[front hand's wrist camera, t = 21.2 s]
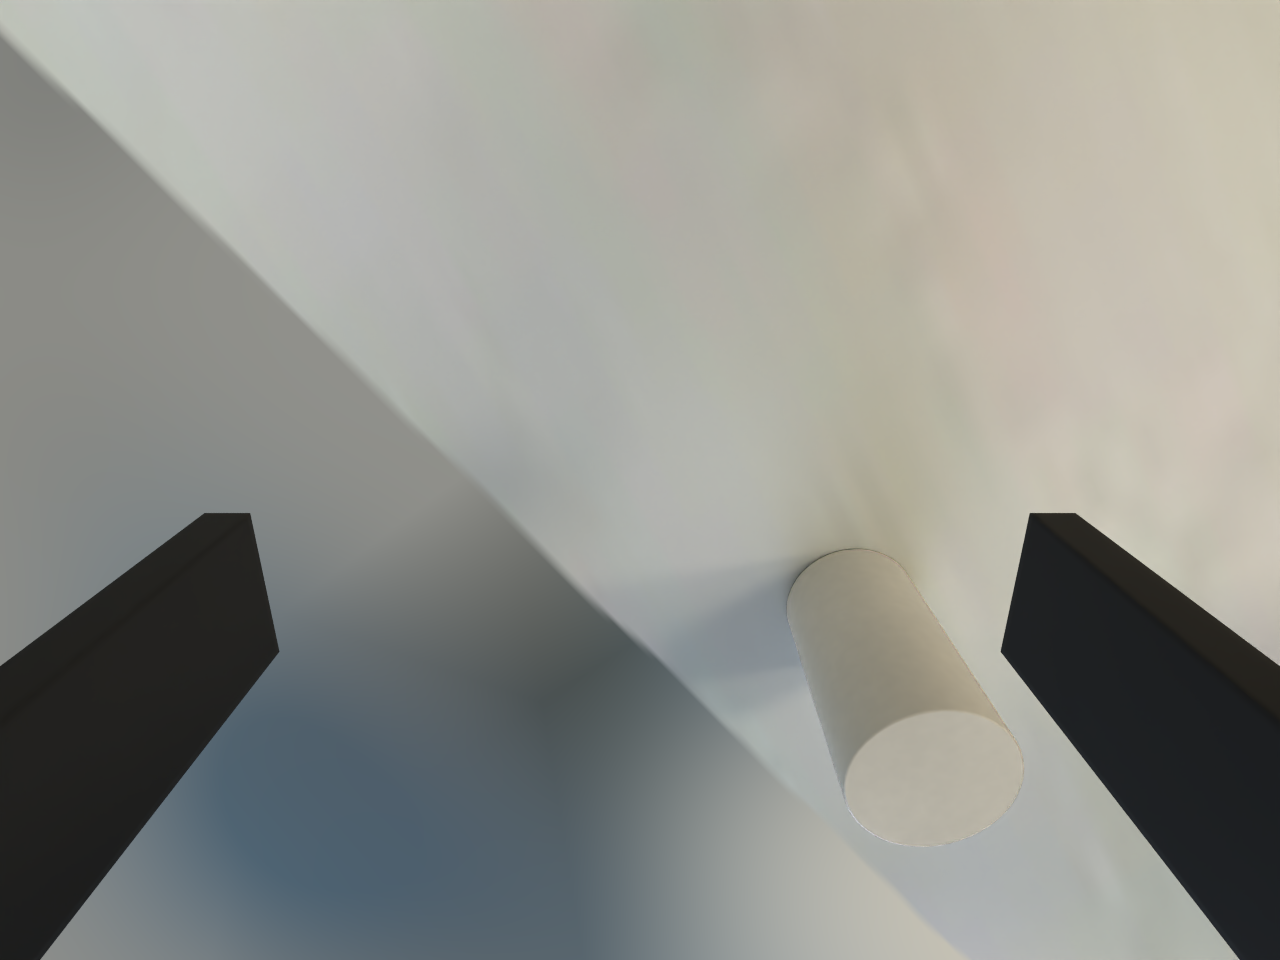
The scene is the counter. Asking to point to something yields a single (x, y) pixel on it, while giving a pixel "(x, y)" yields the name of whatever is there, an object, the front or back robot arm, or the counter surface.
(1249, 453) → the counter surface
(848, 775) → the canister
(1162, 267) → the counter surface
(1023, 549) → the front robot arm
